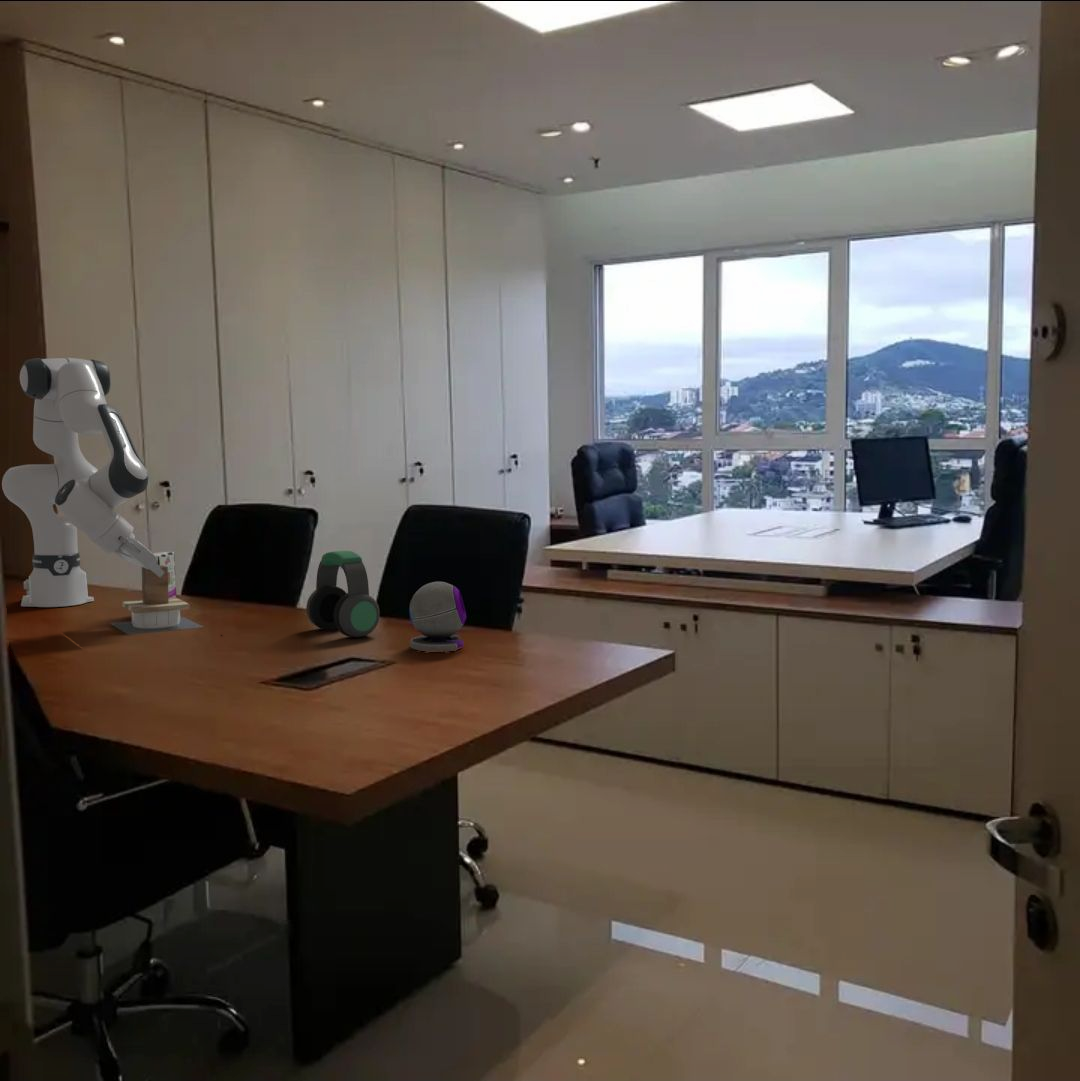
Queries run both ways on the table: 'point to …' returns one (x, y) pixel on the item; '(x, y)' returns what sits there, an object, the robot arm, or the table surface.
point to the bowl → (156, 619)
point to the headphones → (343, 597)
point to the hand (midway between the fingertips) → (157, 573)
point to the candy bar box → (168, 561)
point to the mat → (129, 629)
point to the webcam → (437, 617)
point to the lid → (155, 595)
